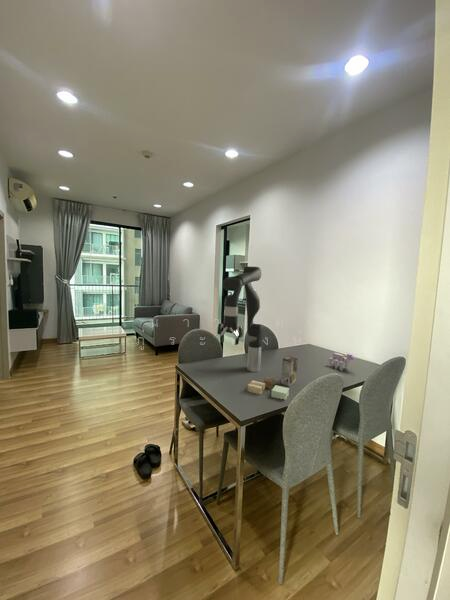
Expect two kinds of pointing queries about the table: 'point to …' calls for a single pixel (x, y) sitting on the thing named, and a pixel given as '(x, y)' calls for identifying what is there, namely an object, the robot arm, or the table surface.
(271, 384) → the walnut cube
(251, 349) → the robot arm
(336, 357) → the toy sheep
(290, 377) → the coffee box
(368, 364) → the table surface
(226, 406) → the table surface
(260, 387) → the oak base block
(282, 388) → the sage base block
